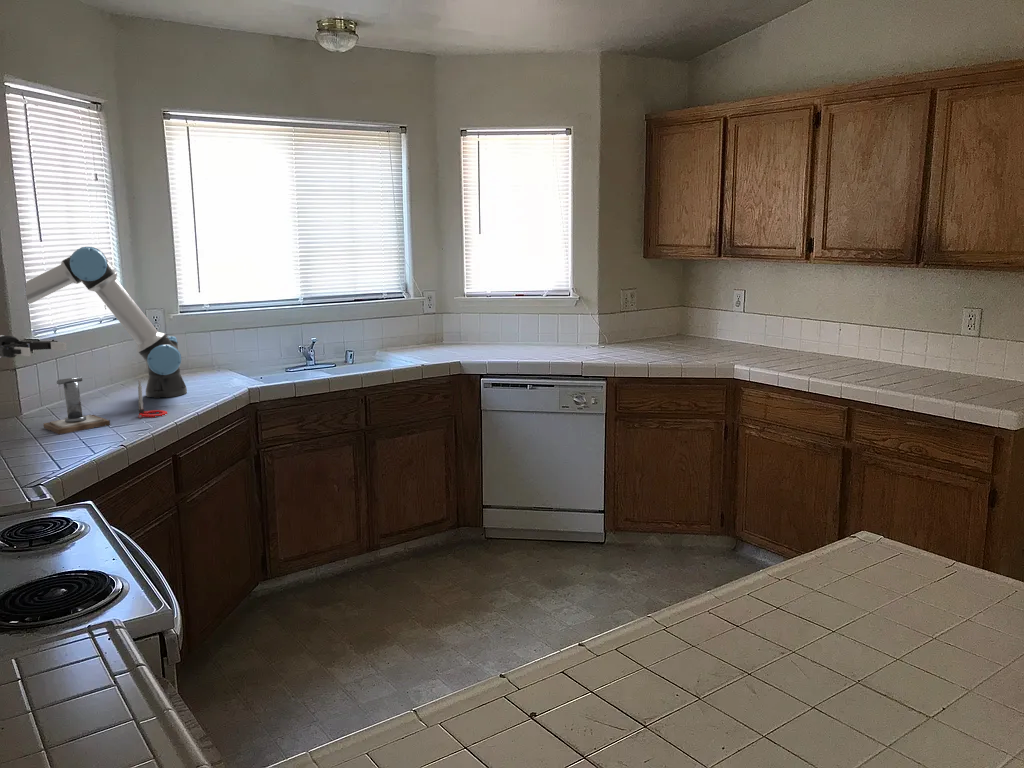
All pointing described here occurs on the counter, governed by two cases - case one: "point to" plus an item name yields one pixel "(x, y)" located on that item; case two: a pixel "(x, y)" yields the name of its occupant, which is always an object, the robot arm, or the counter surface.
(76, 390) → the metal mooring bollard
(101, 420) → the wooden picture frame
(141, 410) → the tow hook
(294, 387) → the counter surface
